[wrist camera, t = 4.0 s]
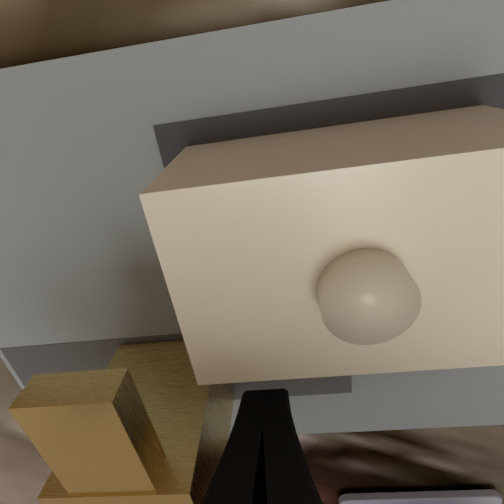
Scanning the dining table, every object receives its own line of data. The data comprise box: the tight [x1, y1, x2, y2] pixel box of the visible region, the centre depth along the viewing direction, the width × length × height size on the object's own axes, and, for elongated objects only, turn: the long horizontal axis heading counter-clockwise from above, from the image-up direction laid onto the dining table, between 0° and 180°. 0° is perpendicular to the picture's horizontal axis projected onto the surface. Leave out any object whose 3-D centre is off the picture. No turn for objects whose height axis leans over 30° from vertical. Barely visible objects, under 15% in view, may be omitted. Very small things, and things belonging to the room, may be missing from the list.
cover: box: [139, 105, 504, 385], centre depth 8 cm, size 4×7×4 cm, turn 98°
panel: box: [0, 0, 504, 434], centre depth 11 cm, size 14×20×2 cm
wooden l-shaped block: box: [8, 340, 234, 504], centre depth 10 cm, size 6×4×5 cm, turn 8°
